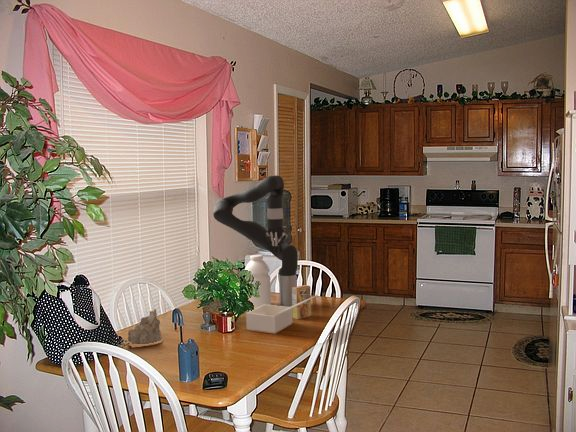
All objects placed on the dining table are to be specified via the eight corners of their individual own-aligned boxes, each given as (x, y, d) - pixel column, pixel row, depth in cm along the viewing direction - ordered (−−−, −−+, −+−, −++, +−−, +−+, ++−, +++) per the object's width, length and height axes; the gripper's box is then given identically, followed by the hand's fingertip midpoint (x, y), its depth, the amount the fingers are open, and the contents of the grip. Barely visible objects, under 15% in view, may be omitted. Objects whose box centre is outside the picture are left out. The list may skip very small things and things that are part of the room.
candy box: (305, 314, 292) (305, 284, 290) (311, 316, 288) (310, 285, 287) (292, 318, 286) (291, 287, 284) (297, 319, 283) (296, 288, 281)
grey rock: (158, 333, 267) (155, 302, 264) (166, 345, 252) (163, 311, 249) (124, 341, 260) (120, 309, 258) (130, 353, 246) (126, 319, 243)
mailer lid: (274, 315, 260) (300, 303, 253) (292, 306, 275) (317, 294, 268) (275, 316, 260) (301, 304, 253) (292, 307, 275) (317, 295, 268)
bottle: (241, 306, 311) (239, 254, 308) (265, 303, 317) (263, 252, 314) (250, 312, 298) (248, 258, 295) (275, 308, 304) (273, 256, 301)
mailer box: (246, 330, 268) (246, 313, 268) (265, 320, 283) (264, 304, 282) (275, 333, 261) (274, 316, 260) (292, 323, 276) (292, 307, 275)
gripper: (259, 218, 277) (260, 254, 278) (283, 218, 270) (284, 255, 272) (267, 216, 283) (268, 251, 285) (291, 217, 277) (292, 253, 279)
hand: (276, 253), depth 278 cm, fingers closed
